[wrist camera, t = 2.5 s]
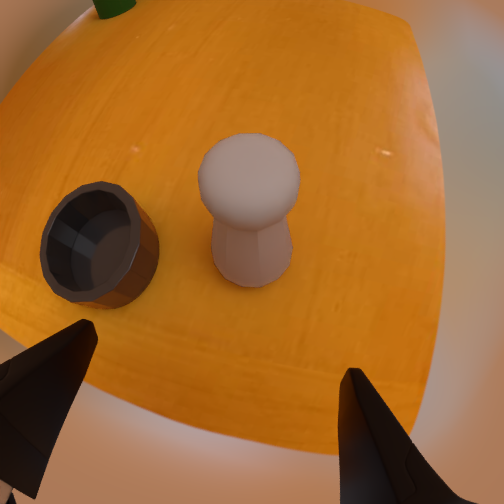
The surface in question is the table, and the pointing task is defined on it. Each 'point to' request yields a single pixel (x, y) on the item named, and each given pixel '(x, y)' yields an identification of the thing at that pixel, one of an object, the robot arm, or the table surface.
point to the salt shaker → (250, 206)
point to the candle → (112, 7)
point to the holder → (99, 247)
